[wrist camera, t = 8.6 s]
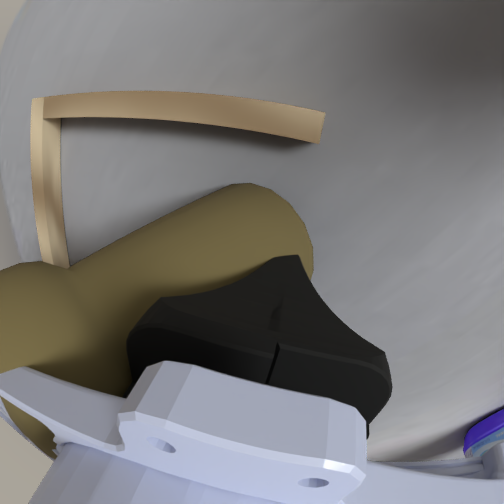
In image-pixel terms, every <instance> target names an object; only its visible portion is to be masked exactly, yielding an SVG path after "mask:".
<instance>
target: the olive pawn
mask: <svg viewBox="0 0 504 504" xmlns="http://www.w3.org/2000/svg"><path fill="white" fill-rule="evenodd" d="M297 254H298V255H299V256H300V258H301V261H302V264H303V266H304V269H305V271H306V273H307V275H308V277H309V279H310V280H311V277H312V273H313V270H314V269H313V246H312V244H311V241H310V238H309V235H308V232H307V229H306V227H305V224H304V222H303V221H302V220H301V218H300V217H299V215H298V214H297V213H296V211H295V210H294V209H293V207H292V206H291V205H290V203H288V202H287V201H286V200H284V199H283V198H282V197H280V196H279V195H278V194H276V193H275V192H274V191H272V190H271V189H268V188H265V187H262V186H258V185H255V184H252V183H243V184H231V185H229V186H227V187H224V188H222V189H220V190H218V191H215V192H213V193H211V194H209V195H207V196H205V197H203V198H200V199H198V200H196V201H194V202H192V203H190V204H188V205H186V206H184V207H181V208H179V209H177V210H175V211H173V212H171V213H169V214H167V215H165V216H163V217H161V218H159V219H157V220H155V221H153V222H151V223H149V224H147V225H145V226H143V227H142V228H140V229H138V230H136V231H134V232H132V233H130V234H128V235H126V236H124V237H122V238H121V239H119V240H117V241H115V242H113V243H111V244H110V245H108V246H106V247H104V248H102V249H100V250H99V251H97V252H95V253H93V254H91V255H90V256H88V257H86V258H84V259H83V260H81V261H79V262H77V263H76V264H74V265H72V266H71V267H69V268H67V269H66V268H62V267H59V266H56V265H53V264H49V263H46V262H43V261H37V262H26V263H19V264H16V265H14V266H11V267H9V268H6V269H3V270H1V271H0V374H1V373H4V372H7V371H10V370H13V369H16V368H19V367H29V368H32V369H34V370H37V371H39V372H42V373H44V374H47V375H50V376H53V377H55V378H58V379H61V380H64V381H67V382H70V383H73V384H76V385H79V386H82V387H86V388H89V389H92V390H96V391H99V392H103V393H106V394H110V395H114V396H118V397H122V396H123V395H124V393H125V392H126V390H127V389H128V387H129V385H130V384H131V382H132V377H131V372H130V367H129V362H128V357H127V351H126V340H127V337H128V335H129V332H130V331H131V330H132V329H133V327H134V326H135V325H136V324H137V322H138V321H139V320H140V318H141V317H142V316H143V315H144V313H145V312H146V311H147V310H148V309H149V308H150V307H151V306H152V305H153V304H154V303H155V302H156V301H157V300H158V299H159V298H160V297H170V296H182V295H190V294H196V293H202V292H206V291H210V290H214V289H217V288H220V287H223V286H226V285H229V284H232V283H234V282H236V281H238V280H240V279H242V278H244V277H246V276H248V275H249V274H251V273H252V272H254V271H255V270H257V269H258V268H260V267H261V266H262V265H264V264H265V263H266V262H268V261H269V260H271V259H272V258H274V257H278V256H285V255H297ZM0 398H1V400H2V402H3V404H4V406H5V409H6V411H7V412H8V414H9V416H10V418H11V420H12V421H13V422H14V423H15V425H16V426H17V427H18V428H19V429H20V430H21V432H22V433H23V434H24V435H25V436H26V437H27V438H28V439H29V440H30V441H32V442H33V443H34V444H35V445H36V446H37V447H38V448H39V449H40V450H42V451H43V452H44V453H45V454H46V455H47V456H49V457H51V458H53V459H56V458H57V455H56V454H55V453H54V452H53V451H52V450H53V449H56V446H57V443H55V442H54V441H53V438H54V437H55V434H54V433H53V432H52V431H51V430H50V429H49V428H48V427H47V426H46V425H44V424H43V423H42V422H41V421H39V420H38V419H36V418H34V417H33V416H31V415H29V414H28V413H26V412H25V411H23V410H21V409H20V408H18V407H17V406H15V405H14V404H12V403H11V402H9V401H8V400H6V399H5V398H3V397H2V396H0Z"/></svg>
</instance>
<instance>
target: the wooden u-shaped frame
mask: <svg viewBox="0 0 504 504" xmlns="http://www.w3.org/2000/svg"><path fill="white" fill-rule="evenodd" d="M64 117H122V118H144V119H159V120H172V121H183V122H193V123H202V124H210V125H218V126H225V127H232V128H239V129H245V130H251V131H257V132H263V133H269V134H274V135H279V136H284V137H289V138H294V139H299V140H303V141H308V142H312V143H317V144H319V142H320V137H321V132H322V127H323V122H324V117H325V112H320V111H316V110H311V109H307V108H302V107H297V106H292V105H286V104H281V103H275V102H269V101H263V100H256V99H249V98H241V97H233V96H224V95H215V94H203V93H189V92H170V91H109V92H90V93H77V94H67V95H57V96H49V97H42V98H35V99H32V108H31V175H32V189H33V200H34V210H35V218H36V225H37V232H38V239H39V245H40V250H41V256H42V261H43V262H46V263H49V264H53V265H56V266H59V267H62V268H66V269H67V268H69V267H70V264H69V258H68V252H67V244H66V237H65V228H64V219H63V208H62V194H61V172H60V133H61V118H64Z"/></svg>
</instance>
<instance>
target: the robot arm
mask: <svg viewBox="0 0 504 504" xmlns="http://www.w3.org/2000/svg"><path fill="white" fill-rule="evenodd" d="M126 351H127V357H128V362H129V367H130V372H131V377H132V382H131V384H130V385H129V387H128V389H127V390H126V392H125V393H124V395H123V396H122V397H118V396H114V395H110V394H106V393H103V392H99V391H96V390H92V389H89V388H86V387H82V386H79V385H76V384H73V383H70V382H67V381H64V380H61V379H58V378H55V377H53V376H50V375H47V374H44V373H42V372H39V371H37V370H34V369H32V368H29V367H19V368H16V369H13V370H10V371H7V372H4V373H1V374H0V396H2V397H3V398H5V399H6V400H8V401H9V402H11V403H12V404H14V405H15V406H17V407H18V408H20V409H21V410H23V411H25V412H26V413H28V414H29V415H31V416H33V417H34V418H36V419H38V420H39V421H41V422H42V423H43V424H44V425H46V426H47V427H48V428H49V429H50V430H51V431H52V432H53V433H54V434H55V437H54V438H53V441H54V442H55V443H57V446H56V449H53V450H52V451H53V452H54V453H55V454H56V455H57V458H56V459H53V458H51V457H49V456H47V455H46V454H45V453H44V452H43V451H42V450H40V449H39V448H38V447H37V446H36V445H35V444H34V443H33V442H32V441H30V440H29V439H28V438H27V437H26V436H25V435H24V434H23V433H22V432H21V430H20V429H19V428H18V427H17V426H16V425H15V423H14V422H13V421H12V420H11V418H10V416H9V414H8V412H7V411H6V409H5V406H4V404H3V402H2V400H1V398H0V416H1V417H2V418H3V419H4V420H5V421H6V422H7V423H8V424H9V425H10V426H12V427H13V428H14V429H15V430H16V431H17V432H18V433H19V434H20V435H22V436H23V437H24V438H25V439H26V440H28V441H29V442H30V443H31V444H32V445H33V446H35V447H36V448H37V449H38V450H40V451H41V452H42V453H44V454H45V455H46V456H47V457H49V458H50V459H51V460H53V461H54V463H53V464H52V466H51V467H50V469H49V471H48V472H47V474H46V475H45V477H44V478H43V480H42V482H41V483H40V485H39V486H38V488H37V490H36V491H35V493H34V495H33V496H32V498H31V500H30V501H29V503H28V504H504V442H500V443H497V444H496V445H494V446H492V447H491V448H490V449H488V450H487V451H486V452H485V453H484V454H483V455H482V456H478V457H471V458H462V459H453V460H441V461H422V462H378V461H370V460H367V444H366V440H367V439H368V437H369V424H370V423H371V422H372V420H373V419H374V418H375V417H376V416H377V415H378V413H379V412H380V411H381V410H382V409H383V407H384V406H385V405H386V403H387V402H388V400H389V398H390V397H391V392H392V381H391V374H390V369H389V365H388V362H387V358H386V355H385V352H384V351H382V350H381V349H379V348H377V347H376V346H374V345H373V344H371V343H370V342H368V341H366V340H365V339H363V338H362V337H361V336H359V335H358V334H357V333H355V332H354V331H353V330H352V329H350V328H349V327H348V326H347V325H346V324H345V323H343V322H342V321H341V320H340V319H339V318H338V317H337V316H336V315H335V314H334V313H333V312H332V311H331V309H330V308H329V307H328V306H327V305H326V304H325V302H324V301H323V300H322V299H321V297H320V296H319V294H318V293H317V292H316V290H315V288H314V287H313V285H312V283H311V281H310V279H309V277H308V275H307V273H306V271H305V269H304V266H303V264H302V261H301V258H300V256H299V255H298V254H297V255H285V256H278V257H274V258H272V259H271V260H269V261H268V262H266V263H265V264H264V265H262V266H261V267H260V268H258V269H257V270H255V271H254V272H252V273H251V274H249V275H248V276H246V277H244V278H242V279H240V280H238V281H236V282H234V283H232V284H229V285H226V286H223V287H220V288H217V289H214V290H210V291H206V292H202V293H196V294H190V295H182V296H170V297H160V298H159V299H158V300H157V301H156V302H155V303H154V304H153V305H152V306H151V307H150V308H149V309H148V310H147V311H146V312H145V313H144V315H143V316H142V317H141V318H140V320H139V321H138V322H137V324H136V325H135V326H134V327H133V329H132V330H131V331H130V332H129V335H128V337H127V340H126Z"/></svg>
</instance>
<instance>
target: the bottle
mask: <svg viewBox="0 0 504 504" xmlns="http://www.w3.org/2000/svg"><path fill="white" fill-rule="evenodd" d="M500 442H504V409H502V410H500V411H498V412H497V413H495V414H493V415H491V416H489V417H488V418H486V419H484V420H482V421H481V422H479V423H478V424H476V425H475V426H473V427H472V428H471V429H470V430H469V431H468V433H467V434H466V436H465V440H464V448H463V451H464V454H465V458H471V457H478V456H482V455H483V454H484V453H485V452H486V451H487V450H488V449H490V448H491V447H492V446H494V445H496V444H497V443H500Z"/></svg>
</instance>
